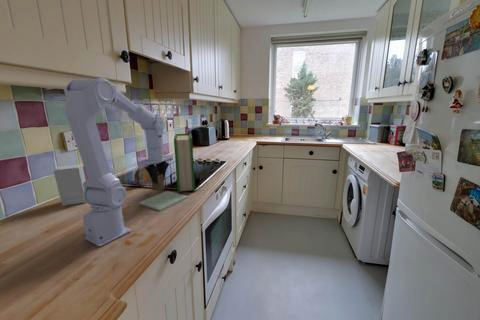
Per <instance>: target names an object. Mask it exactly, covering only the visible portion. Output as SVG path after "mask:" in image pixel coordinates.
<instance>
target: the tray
mask: <svg viewBox="0 0 480 320" xmlns="http://www.w3.org/2000/svg"><path fill="white" fill-rule="evenodd" d="M188 197H189V196H188V195H185V194H181V193H178V192H174V191H171V190H170V191H169V190H167V191H164V192H161V193H159V194H156V195H154V196H151V197H149V198H146V199H144V200H142V201H139V205H141V206H144V207H148V208H151V209H154V210H156V211H159V212H161V211H163V210H166V209H168V208H169V207H172V206H174V205H176V204H178V203H180V202H182V201H184V200H187V199H188Z"/></svg>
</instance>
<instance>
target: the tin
mask: <svg viewBox="0 0 480 320" xmlns="http://www.w3.org/2000/svg"><path fill="white" fill-rule="evenodd" d="M133 177H134V182H135V184H136V185H137V186H142V187H143V185H145V186H146V184H147V185H148V184H150V183H152V180H151V177H150V175H149V173H148V172H147V170H146V169H145V167H144V168H138V169H136V170H135V172H134V175H133Z"/></svg>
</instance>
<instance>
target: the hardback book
mask: <svg viewBox="0 0 480 320" xmlns="http://www.w3.org/2000/svg"><path fill="white" fill-rule="evenodd" d="M173 145H174V147H173V148H174V160H175V174H176V183H177V184H176V185H177V186H176V187H177V193H178V194H181V192H188V191H190V192H191V191H192V192H193V193H196V184H195V165H194V163H195V162H194V149H193V148H194V147H193V136H192V133H176V134H175V135H174V138H173Z"/></svg>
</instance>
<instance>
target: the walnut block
mask: <svg viewBox="0 0 480 320" xmlns="http://www.w3.org/2000/svg"><path fill="white" fill-rule="evenodd" d="M157 176H158V183H157V184H155V183H153V182H151V186H152V187H151V188H152V190H154V191H158V192H160V191H163V190H166V189H165V178H163V174H159V173H158V174H157ZM151 180H152V179H151Z"/></svg>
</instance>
